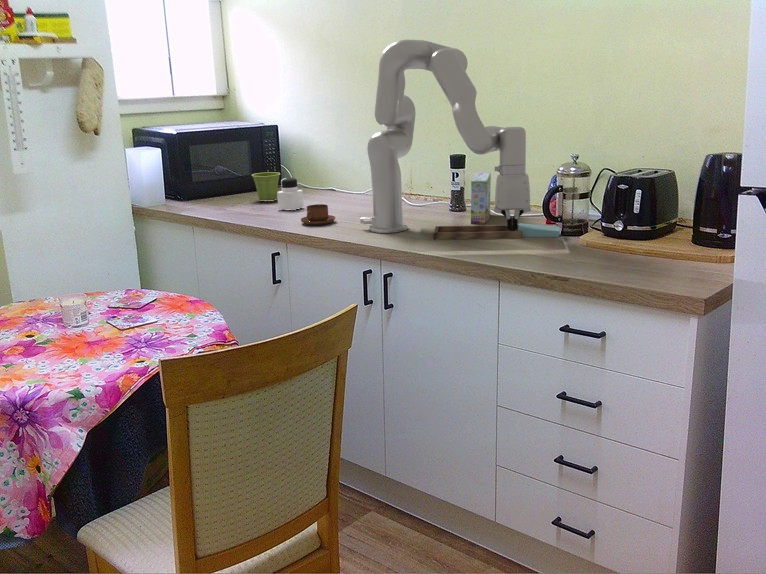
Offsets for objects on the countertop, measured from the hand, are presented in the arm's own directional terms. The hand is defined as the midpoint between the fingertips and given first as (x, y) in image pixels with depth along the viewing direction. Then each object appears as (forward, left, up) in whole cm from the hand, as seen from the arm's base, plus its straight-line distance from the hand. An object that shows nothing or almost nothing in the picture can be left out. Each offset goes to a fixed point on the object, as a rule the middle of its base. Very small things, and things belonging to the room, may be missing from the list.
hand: (512, 231), depth 223 cm
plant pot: (-97, +78, -2) cm, 125 cm away
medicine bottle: (-82, +57, -2) cm, 100 cm away
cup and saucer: (-65, +28, -2) cm, 71 cm away
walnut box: (-10, 0, -2) cm, 10 cm away
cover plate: (+8, 0, -1) cm, 8 cm away
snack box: (-9, +27, -2) cm, 29 cm away
